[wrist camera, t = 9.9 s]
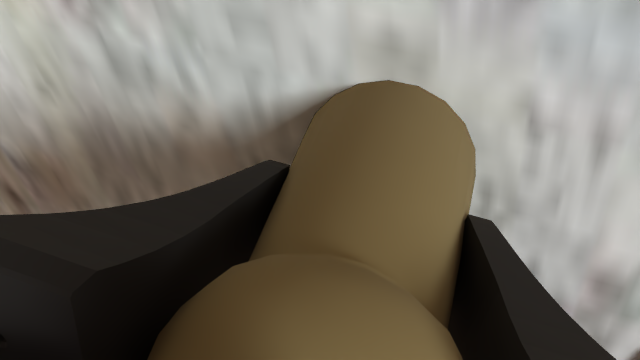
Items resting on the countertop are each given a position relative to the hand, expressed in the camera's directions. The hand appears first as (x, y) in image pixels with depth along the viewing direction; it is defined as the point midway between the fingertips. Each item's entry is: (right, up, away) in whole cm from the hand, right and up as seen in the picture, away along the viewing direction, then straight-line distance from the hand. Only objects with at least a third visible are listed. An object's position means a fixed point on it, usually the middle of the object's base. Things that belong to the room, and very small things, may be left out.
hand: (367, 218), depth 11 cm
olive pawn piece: (+1, +2, +3) cm, 4 cm away
